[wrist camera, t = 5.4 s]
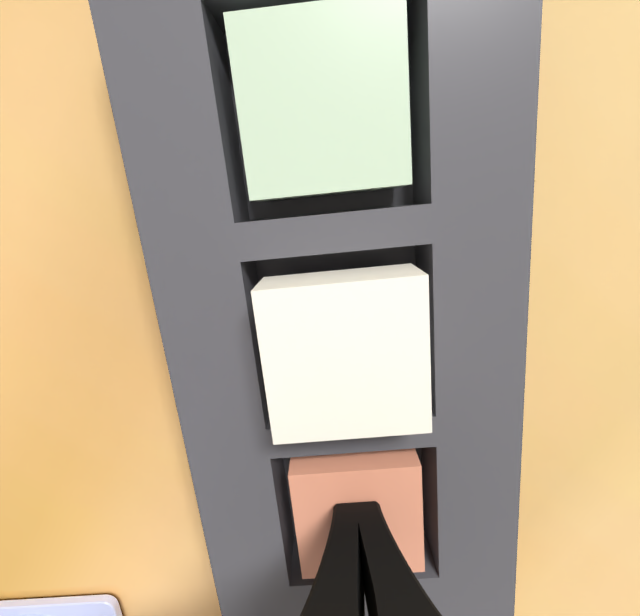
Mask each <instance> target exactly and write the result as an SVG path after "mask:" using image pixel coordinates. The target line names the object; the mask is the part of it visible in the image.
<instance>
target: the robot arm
mask: <svg viewBox="0 0 640 616" xmlns="http://www.w3.org/2000/svg"><path fill="white" fill-rule="evenodd" d="M364 593H365V598H364ZM365 599H366V605H367V610H368V616H442V615H441V614H440V612H439V611H438V610H437V608H436V607H435V605H434V604H433V602H432V601H431V599H430V598H429V596H428V595H427V593H426V592H425V590H424V589H423V587H422V586H421V584H420V583H419V581H418V580H417V578H416V576H415V575H414V573H413V571H412V570H411V568H410V567H409V565H408V563H407V561H406V560H405V558H404V556H403V554H402V552H401V551H400V549H399V547H398V545H397V543H396V541H395V540H394V538H393V535H392V533H391V531H390V529H389V527H388V525H387V523H386V521H385V518H384V516H383V513H382V510H381V507H380V504H379V503H378V502H376V501H369V502H355V503H340V504H336V505H335V506H334V507H333V516H332V522H331V527H330V531H329V535H328V539H327V543H326V546H325V550H324V553H323V556H322V559H321V563H320V566H319V569H318V572H317V574H316V577H315V580H314V582H313V585H312V588H311V590H310V593H309V595H308V598H307V600H306V603H305V605H304V607H303V610H302V612H301V614H300V616H365ZM0 616H122V612H121V609H120V606H119V602H118V601H117V599H116V598H115V597H114V596H112V595H108V594H103V595H86V596H69V597H53V598H36V599H19V600H2V601H0Z"/></svg>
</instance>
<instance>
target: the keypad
mask: <svg viewBox="0 0 640 616" xmlns="http://www.w3.org/2000/svg"><path fill="white" fill-rule="evenodd" d="M88 1H89V5H90V10H91V15H92V19H93V24H94V28H95V33H96V38H97V42H98V47H99V52H100V56H101V61H102V65H103V70H104V75H105V79H106V84H107V88H108V93H109V98H110V102H111V107H112V111H113V116H114V121H115V125H116V130H117V135H118V139H119V144H120V148H121V153H122V158H123V162H124V167H125V171H126V176H127V181H128V185H129V190H130V194H131V199H132V204H133V208H134V213H135V218H136V222H137V227H138V231H139V236H140V241H141V245H142V250H143V254H144V259H145V264H146V268H147V273H148V277H149V282H150V287H151V291H152V296H153V300H154V305H155V310H156V314H157V319H158V324H159V328H160V333H161V337H162V342H163V347H164V351H165V356H166V360H167V365H168V370H169V374H170V379H171V383H172V388H173V393H174V397H175V402H176V407H177V411H178V416H179V420H180V425H181V430H182V434H183V439H184V443H185V448H186V453H187V457H188V462H189V466H190V471H191V476H192V480H193V485H194V490H195V494H196V499H197V503H198V508H199V513H200V517H201V522H202V526H203V531H204V536H205V540H206V545H207V549H208V554H209V559H210V563H211V568H212V573H213V577H214V582H215V586H216V591H217V596H218V600H219V605H220V609H221V614H222V616H300V614H301V612H302V610H303V607H304V605H305V603H306V600H307V598H308V595H309V593H310V590H311V588H312V585H313V582H314V580H315V578H313V579H302V573H301V566H300V559H299V552H298V545H297V538H296V530H295V523H294V516H293V509H292V502H291V495H290V487H289V480H288V471H289V464H290V458H291V457H303V456H317V455H330V454H344V453H357V452H371V451H385V450H398V449H412V448H415V450H416V452H417V455H418V458H419V461H420V463H421V466H422V495H423V526H424V557H425V572H414V575H415V576H416V578H417V580H418V581H419V583H420V584H421V586H422V587H423V589H424V590H425V592H426V593H427V595H428V596H429V598H430V599H431V601H432V602H433V604H434V605H435V607H436V608H437V610H438V611H439V612H440V614H441V615H442V616H514V604H515V583H516V561H517V539H518V518H519V496H520V475H521V453H522V432H523V410H524V388H525V367H526V345H527V324H528V302H529V281H530V259H531V238H532V216H533V194H534V173H535V151H536V130H537V108H538V87H539V65H540V43H541V22H542V0H406V3H407V33H408V64H409V95H410V126H411V156H412V184H411V185H408V186H404V187H400V188H393V189H383V190H374V191H364V192H354V193H344V194H334V195H325V196H315V197H305V198H295V199H285V200H276V201H266V202H257V201H249V194H248V187H247V180H246V173H245V166H244V159H243V151H242V144H241V137H240V130H239V123H238V116H237V109H236V101H235V94H234V87H233V80H232V73H231V66H230V58H229V51H228V44H227V37H226V30H225V23H224V16H223V12H230V11H238V10H246V9H254V8H262V7H270V6H278V5H286V4H294V3H303V2H311V1H319V0H88ZM408 263H411V264H413V265H414V266H416V267H417V268H419V269H420V270H422V271H423V272H425V273H427V274H428V275H429V314H430V357H431V400H432V433H425V434H411V435H398V436H385V437H371V438H358V439H344V440H331V441H318V442H304V443H291V444H278V445H273V439H272V433H271V426H270V419H269V412H268V405H267V399H266V392H265V385H264V378H263V372H262V365H261V358H260V351H259V345H258V338H257V331H256V324H255V317H254V311H253V304H252V297H251V290H252V289H253V288H254V287H255V286H256V285H257V284H258V283H259V281H260V280H261V279H262V278H263V277H270V276H280V275H291V274H302V273H312V272H323V271H334V270H344V269H355V268H366V267H376V266H387V265H398V264H408ZM364 598H365V593H364ZM365 616H368V610H367V605H366V599H365Z"/></svg>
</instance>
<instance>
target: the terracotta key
mask: <svg viewBox="0 0 640 616" xmlns="http://www.w3.org/2000/svg"><path fill="white" fill-rule="evenodd" d="M288 480H289V487H290V495H291V502H292V509H293V516H294V523H295V530H296V538H297V545H298V552H299V559H300V566H301V573H302V579H313V578H315V577H316V574H317V572H318V569H319V566H320V563H321V559H322V556H323V553H324V550H325V546H326V543H327V539H328V535H329V531H330V527H331V522H332V516H333V507H334V506H335V505H336V504H340V503H355V502H369V501H376V502H378V503H379V504H380V507H381V510H382V513H383V516H384V518H385V521H386V523H387V525H388V527H389V529H390V531H391V533H392V535H393V538H394V540H395V541H396V543H397V545H398V547H399V549H400V551H401V552H402V554H403V556H404V558H405V560H406V561H407V563H408V565H409V567H410V568H411V570H412V571H413V573H414V572H425V557H424V526H423V495H422V466H421V463H420V461H419V458H418V455H417V452H416V450H415V448H412V449H398V450H385V451H371V452H357V453H344V454H330V455H317V456H303V457H291V458H290V464H289V471H288Z"/></svg>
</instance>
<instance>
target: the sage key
mask: <svg viewBox="0 0 640 616" xmlns="http://www.w3.org/2000/svg"><path fill="white" fill-rule="evenodd" d="M223 16H224V23H225V30H226V37H227V44H228V51H229V58H230V66H231V73H232V80H233V87H234V94H235V101H236V109H237V116H238V123H239V130H240V137H241V144H242V151H243V159H244V166H245V173H246V180H247V187H248V194H249V201H257V202H266V201H276V200H285V199H295V198H305V197H315V196H325V195H334V194H344V193H354V192H364V191H374V190H383V189H393V188H400V187H404V186H408V185H411V184H412V156H411V126H410V95H409V64H408V33H407V3H406V0H319V1H311V2H303V3H294V4H286V5H278V6H270V7H262V8H254V9H246V10H238V11H230V12H223Z"/></svg>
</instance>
